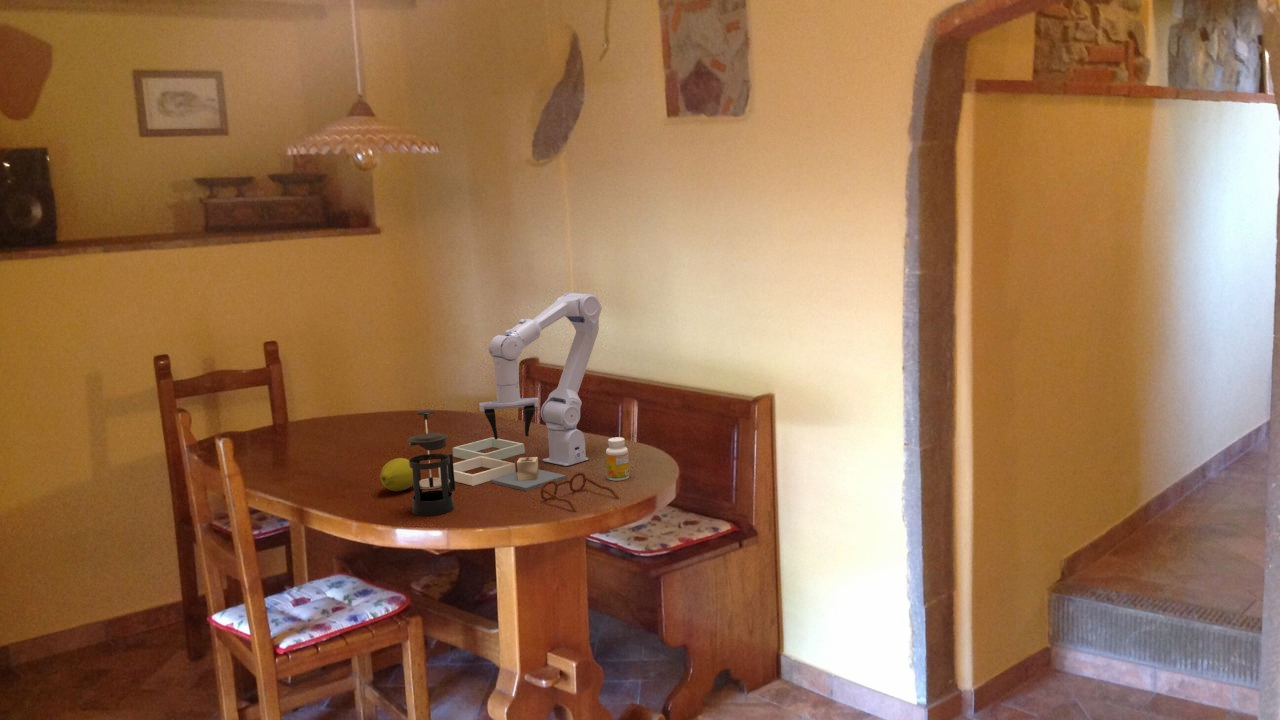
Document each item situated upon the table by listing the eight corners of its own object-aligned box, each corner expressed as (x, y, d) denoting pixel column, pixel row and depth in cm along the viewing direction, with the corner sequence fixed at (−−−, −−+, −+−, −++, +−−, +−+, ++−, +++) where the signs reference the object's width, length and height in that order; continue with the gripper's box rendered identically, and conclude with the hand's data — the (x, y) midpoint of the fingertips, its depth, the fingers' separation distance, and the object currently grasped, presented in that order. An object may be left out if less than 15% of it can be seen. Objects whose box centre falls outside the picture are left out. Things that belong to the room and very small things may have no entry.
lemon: (404, 483, 276) (401, 452, 274) (426, 487, 271) (424, 455, 270) (370, 495, 267) (367, 462, 266) (393, 499, 263) (390, 466, 261)
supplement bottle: (604, 477, 272) (602, 438, 271) (625, 474, 274) (622, 435, 273) (611, 482, 267) (609, 442, 266) (632, 479, 269) (630, 440, 268)
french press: (430, 519, 245) (421, 417, 241) (401, 513, 251) (392, 413, 247) (468, 505, 254) (460, 406, 251) (439, 499, 260) (431, 403, 256)
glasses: (584, 490, 263) (583, 470, 262) (620, 500, 253) (619, 479, 253) (539, 503, 254) (538, 482, 254) (575, 514, 245) (574, 492, 244)
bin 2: (515, 473, 280) (515, 463, 280) (472, 485, 270) (472, 475, 270) (481, 465, 289) (481, 455, 289) (439, 477, 280) (438, 467, 279)
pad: (566, 478, 273) (566, 475, 272) (525, 491, 263) (525, 487, 263) (531, 470, 282) (531, 467, 281) (491, 482, 272) (490, 479, 272)
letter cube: (538, 474, 274) (537, 456, 274) (536, 479, 270) (535, 461, 269) (520, 475, 275) (519, 457, 274) (518, 480, 270) (516, 462, 269)
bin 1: (524, 452, 300) (524, 443, 300) (485, 463, 291) (484, 454, 290) (492, 446, 310) (492, 437, 309) (453, 456, 300) (452, 447, 300)
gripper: (535, 378, 281) (538, 430, 284) (477, 383, 279) (481, 436, 281) (537, 383, 275) (541, 436, 277) (478, 388, 272) (482, 442, 274)
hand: (511, 436), depth 278 cm, fingers open, 7 cm apart
